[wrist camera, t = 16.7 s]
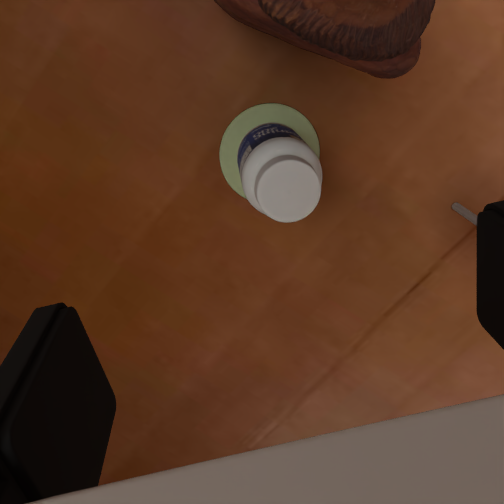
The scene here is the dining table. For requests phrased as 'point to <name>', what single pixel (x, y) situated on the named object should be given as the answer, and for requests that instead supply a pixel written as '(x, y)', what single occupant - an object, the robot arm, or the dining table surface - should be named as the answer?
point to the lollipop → (465, 213)
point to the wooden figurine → (344, 29)
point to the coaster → (252, 119)
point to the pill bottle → (279, 172)
